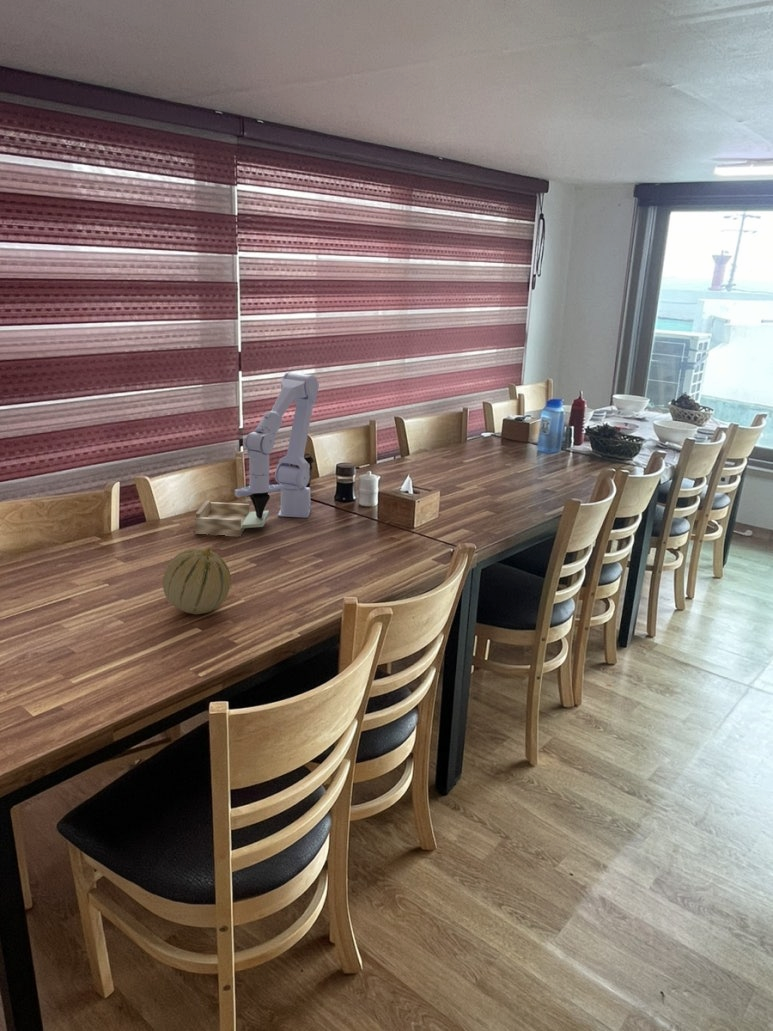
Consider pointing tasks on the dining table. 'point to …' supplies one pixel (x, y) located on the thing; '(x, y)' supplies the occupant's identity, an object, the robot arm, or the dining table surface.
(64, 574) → the dining table surface
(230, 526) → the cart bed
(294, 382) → the robot arm
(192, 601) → the cantaloupe
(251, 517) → the pale green flat slab
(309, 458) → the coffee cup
